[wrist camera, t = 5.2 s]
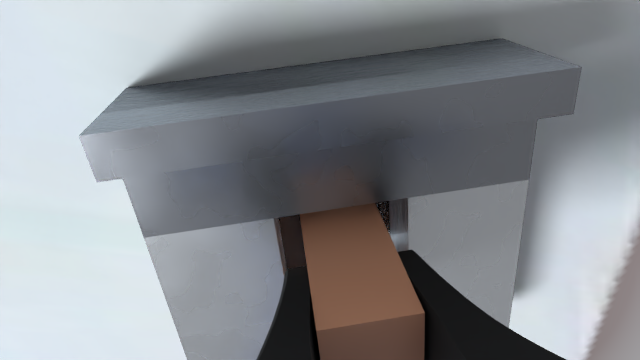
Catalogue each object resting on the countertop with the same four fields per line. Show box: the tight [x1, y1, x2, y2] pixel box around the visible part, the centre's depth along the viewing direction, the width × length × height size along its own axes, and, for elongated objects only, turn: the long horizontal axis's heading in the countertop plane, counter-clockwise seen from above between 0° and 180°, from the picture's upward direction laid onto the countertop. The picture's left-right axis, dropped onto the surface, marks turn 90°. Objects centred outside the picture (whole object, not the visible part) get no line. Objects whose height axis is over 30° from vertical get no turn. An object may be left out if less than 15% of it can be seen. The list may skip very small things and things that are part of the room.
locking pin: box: [299, 203, 425, 360], centre depth 14 cm, size 3×3×6 cm
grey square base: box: [79, 39, 581, 360], centre depth 15 cm, size 12×12×4 cm
